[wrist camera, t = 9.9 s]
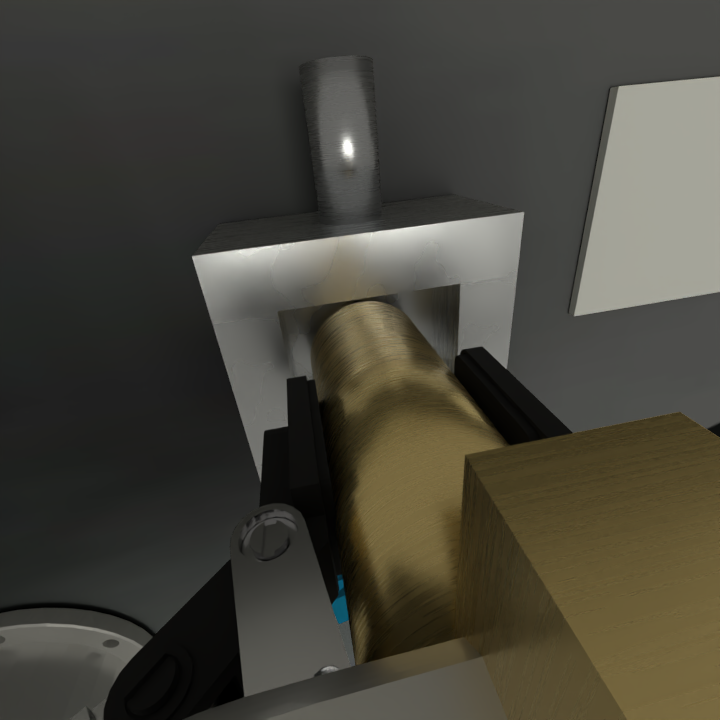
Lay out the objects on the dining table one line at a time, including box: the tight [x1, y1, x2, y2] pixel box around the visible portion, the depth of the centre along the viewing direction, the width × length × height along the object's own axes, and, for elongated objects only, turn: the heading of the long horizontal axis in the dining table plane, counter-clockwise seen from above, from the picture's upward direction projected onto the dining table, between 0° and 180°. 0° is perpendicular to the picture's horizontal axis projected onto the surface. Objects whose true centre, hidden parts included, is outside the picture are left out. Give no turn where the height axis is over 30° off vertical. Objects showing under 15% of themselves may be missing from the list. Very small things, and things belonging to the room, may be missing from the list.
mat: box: [569, 77, 720, 316], centre depth 17 cm, size 9×9×1 cm
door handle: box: [310, 301, 720, 720], centre depth 9 cm, size 4×9×12 cm, turn 5°
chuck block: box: [192, 56, 524, 481], centre depth 14 cm, size 13×9×5 cm
